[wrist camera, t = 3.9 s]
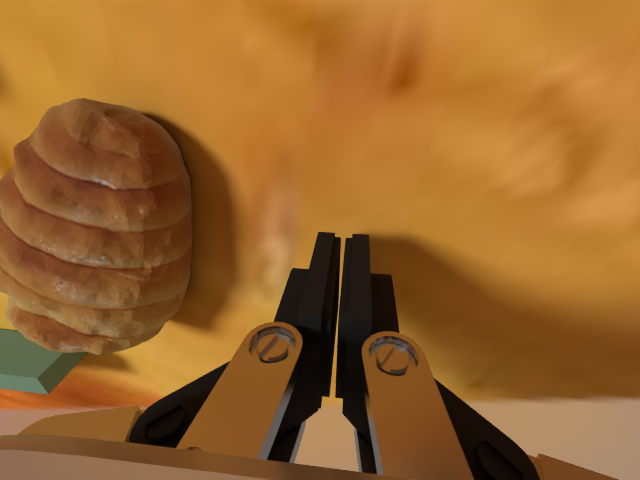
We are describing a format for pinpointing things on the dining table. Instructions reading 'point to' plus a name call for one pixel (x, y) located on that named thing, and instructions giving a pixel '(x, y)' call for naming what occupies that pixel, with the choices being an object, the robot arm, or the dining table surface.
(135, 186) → the pastry
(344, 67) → the dining table surface
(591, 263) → the dining table surface
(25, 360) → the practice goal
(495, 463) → the robot arm
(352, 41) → the dining table surface
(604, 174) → the dining table surface
